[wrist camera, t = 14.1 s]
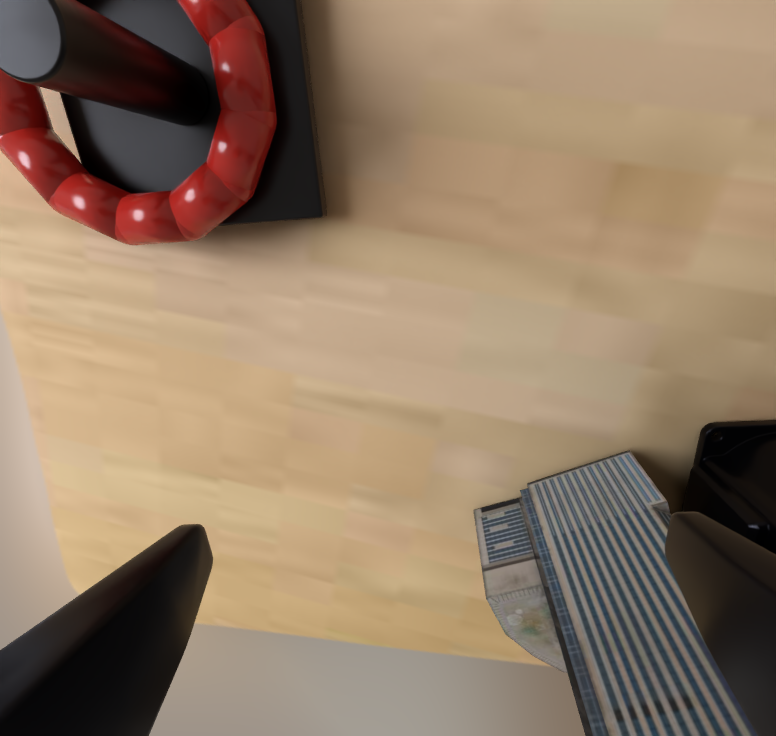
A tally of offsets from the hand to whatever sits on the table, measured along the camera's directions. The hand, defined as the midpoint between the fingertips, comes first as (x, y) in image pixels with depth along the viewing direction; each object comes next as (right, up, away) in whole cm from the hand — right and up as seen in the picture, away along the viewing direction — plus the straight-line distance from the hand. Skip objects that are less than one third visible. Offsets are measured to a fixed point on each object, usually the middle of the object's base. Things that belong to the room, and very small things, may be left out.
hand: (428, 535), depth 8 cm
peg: (-8, +13, +8) cm, 18 cm away
